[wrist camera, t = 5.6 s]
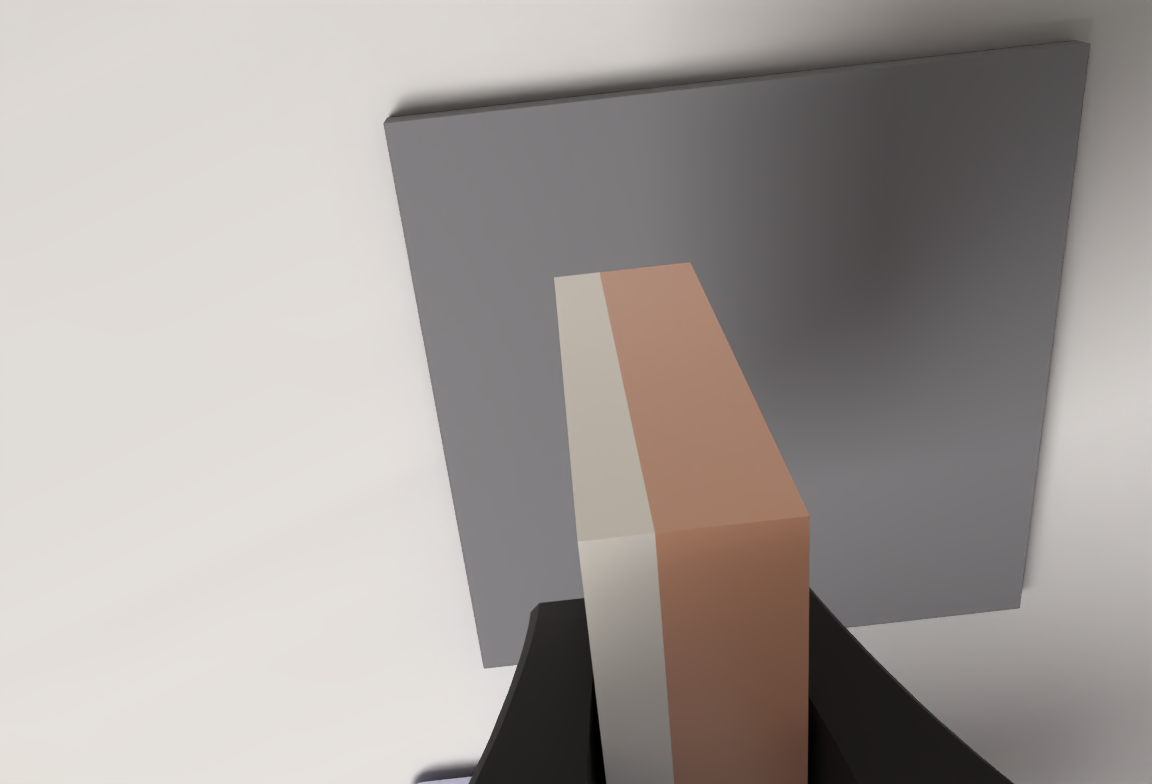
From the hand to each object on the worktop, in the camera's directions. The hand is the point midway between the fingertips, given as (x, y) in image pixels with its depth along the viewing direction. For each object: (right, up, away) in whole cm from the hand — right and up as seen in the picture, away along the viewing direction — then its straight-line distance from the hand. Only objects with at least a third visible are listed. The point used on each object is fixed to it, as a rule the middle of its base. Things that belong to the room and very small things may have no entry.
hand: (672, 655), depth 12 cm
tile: (0, +2, +3) cm, 3 cm away
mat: (+2, +3, +8) cm, 9 cm away
